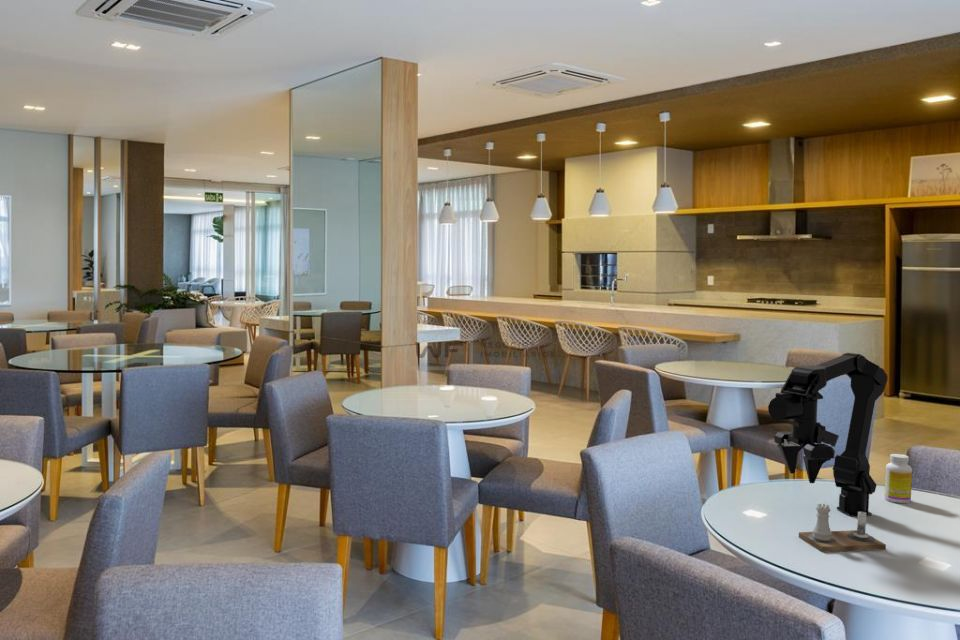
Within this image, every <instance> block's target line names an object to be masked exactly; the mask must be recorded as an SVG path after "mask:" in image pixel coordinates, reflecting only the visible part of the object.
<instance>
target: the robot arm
mask: <svg viewBox="0 0 960 640" xmlns="http://www.w3.org/2000/svg"><path fill="white" fill-rule="evenodd" d="M843 375H846V376H847V377H849V379H850V389H851V391H852V393H853V396H854V401H853V405H852V406H853V407H852V412H851V417H850V421H849V422H850V423H849V427H848V433H847V437H846V438H847V439H846V442H845V443H846V444H845V448H844V450H843V451H842V453H840V455H839V454H835V452H836V451H835V449H834V448H835V447H836V444H837V442H838V440H839V437H840V435H838V434H837V433H836V434H835V433H833V432H831V431H828V430H827V429H826V426H825V425H824V424H823V425H822V424H821V422H819V421H818V403H819V402H818V400H823V399H824V396H823V394H821V393H820V392H819V391H821V390H822V389H824V388H825V387H826V386H827V384H828V382H829V381H831V380H834V379H836V378H838V377H841V376H843ZM887 383H888V374H887V373H886V372H885V369H884V368H882V367H880V365H878V364H876V363H874V362H872V361H870V360H869V359H867V358H866V357H865V356H864V355H862V354H860V353H852V352H845V353H842V355H839V356H837V357H835V358H832V359H829V360H827V361H824V362H821V363H819V364H817V365H801V366H799V365H798V366H795V367H793V368H792V369H791V372H790V373H789V375H788V377H787V379H786V380H785V382H784V385H783V387H782V388H781V390H780V392H776V393H775V396H774V398H772V399H771V400H769V401H770V402H769V403H768V406H767V408H768V415H770V417H771V418H772V419H773V420H775V421H777V422H781V421H788V424H790V425H791V431H777V432H776V434H774V443H775V444H777V445H776V447H778V449H779V451H780V453H781V455H782V458H783V459H784V462H785V465H786V466H787V468H788V471H789V473H790V474H795V473H796V469H797V463H798V458H799V457H798V456H799V452H801V450H802V449H803V454H804V456H803V457H802V458H803V462H804V467H805V471H806V475H807V476H806V477H807V479H808V482H809V484H815V482H816V480H817V477H818V476H819V473H820V470H821V468H822V466H823V464H825V463H826V462H827V461H828V462H829V461H831V460H832V459H834V465H833V467H832V470H833V471H832V473H833V474H832V475H833V479H834V483H835V487H836V488H840V493H839V494H838V495H839V496H838V497H839V498H838V506H836V510H839V511H840V512H842V513H843V514H846V515H848V516H851V517H853V516H855V517H858V512H859V511H862V512H866V516H872V515H873V513H872V512H870V511H869V507H870V504H869V503H870V495H873V493H875V492H876V489H877V483H876V481H875V480H874V479H873V478H872V476H871V475H870V470H871V469H870V468H871V465H870V463H869V461H868V458H867V456H866V453H867V447H868V441H869V435H870V432H871V431H870V430H871V426H872V421H873V414H874V410H875V404H876V401H877V399H879V398H880V396H882V395H883V394H884V391H885V388H886V385H887Z"/></svg>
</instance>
